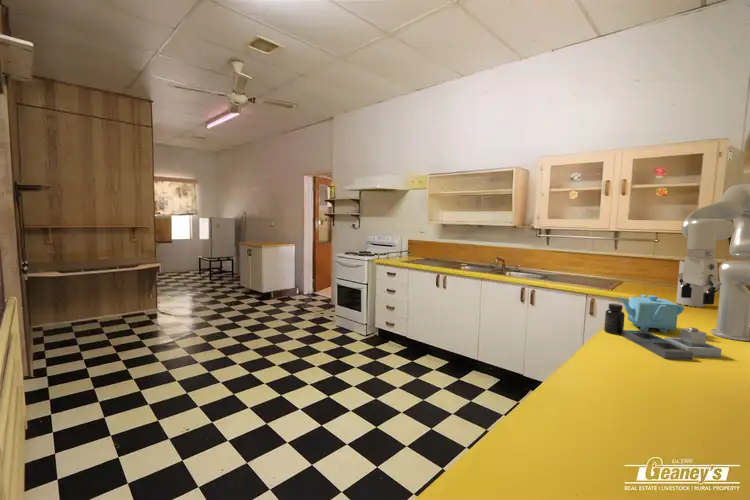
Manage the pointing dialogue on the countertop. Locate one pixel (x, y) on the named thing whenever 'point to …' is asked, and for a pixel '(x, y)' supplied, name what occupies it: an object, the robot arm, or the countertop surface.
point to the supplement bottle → (614, 319)
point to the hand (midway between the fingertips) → (696, 300)
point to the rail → (657, 345)
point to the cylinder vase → (695, 295)
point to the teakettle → (652, 312)
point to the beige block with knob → (692, 337)
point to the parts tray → (698, 348)
